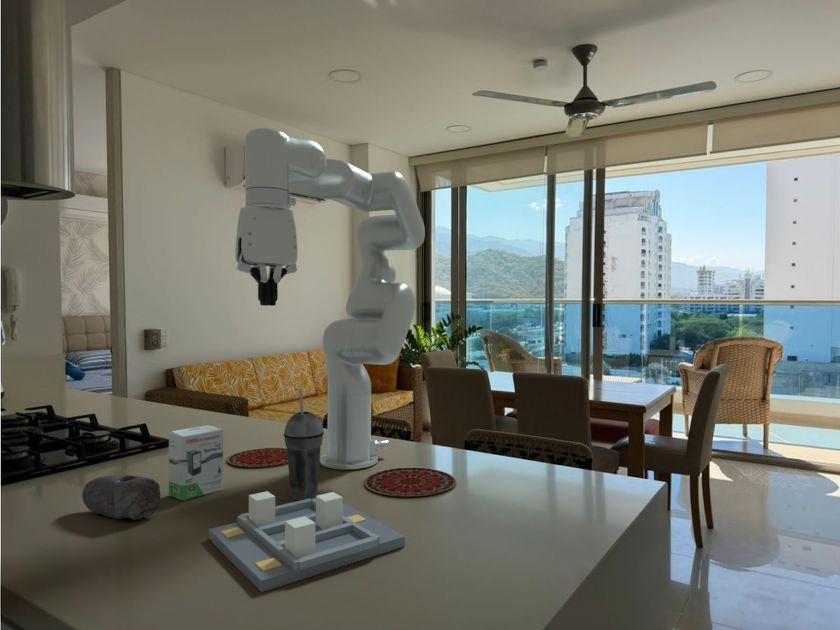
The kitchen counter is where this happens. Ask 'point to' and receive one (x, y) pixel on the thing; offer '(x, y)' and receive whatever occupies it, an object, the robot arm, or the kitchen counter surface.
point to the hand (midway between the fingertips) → (267, 305)
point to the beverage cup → (303, 452)
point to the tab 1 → (262, 509)
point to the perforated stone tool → (122, 496)
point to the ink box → (195, 461)
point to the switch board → (275, 566)
